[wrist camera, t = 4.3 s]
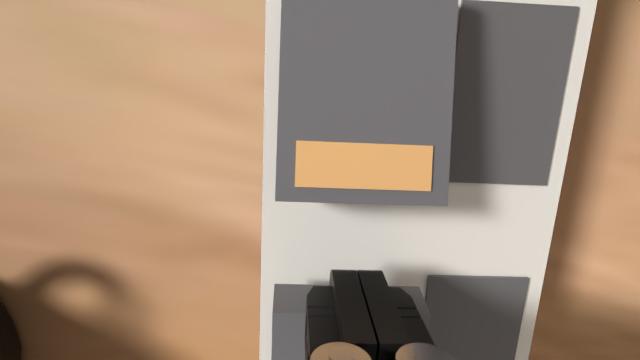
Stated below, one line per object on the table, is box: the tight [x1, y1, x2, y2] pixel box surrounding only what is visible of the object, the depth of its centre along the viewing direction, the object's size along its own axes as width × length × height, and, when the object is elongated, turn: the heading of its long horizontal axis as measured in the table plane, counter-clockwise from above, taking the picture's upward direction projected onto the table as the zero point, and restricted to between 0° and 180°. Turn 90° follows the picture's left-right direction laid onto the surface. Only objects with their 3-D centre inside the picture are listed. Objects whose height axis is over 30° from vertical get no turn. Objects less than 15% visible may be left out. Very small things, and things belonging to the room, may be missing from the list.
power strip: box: [259, 0, 597, 360], centre depth 18 cm, size 30×10×4 cm, turn 177°
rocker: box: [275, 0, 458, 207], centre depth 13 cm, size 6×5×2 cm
